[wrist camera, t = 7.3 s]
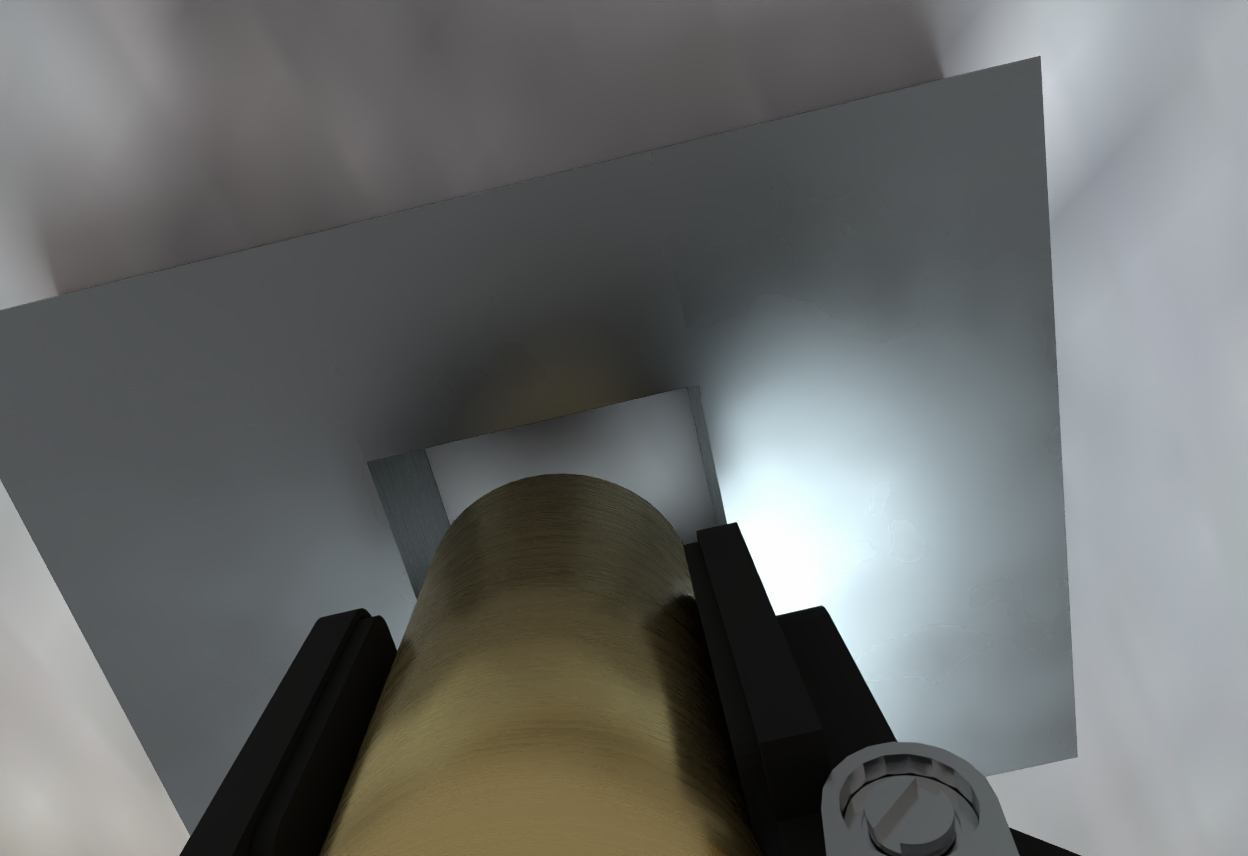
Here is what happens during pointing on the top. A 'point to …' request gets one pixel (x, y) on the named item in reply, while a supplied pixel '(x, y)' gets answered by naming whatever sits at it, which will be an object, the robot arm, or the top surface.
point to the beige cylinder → (549, 694)
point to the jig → (578, 381)
